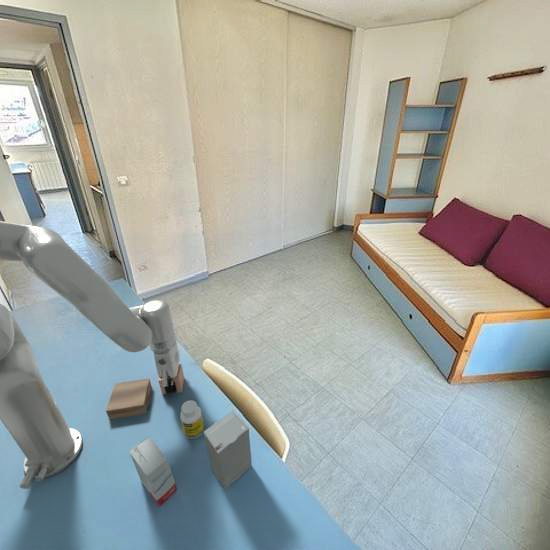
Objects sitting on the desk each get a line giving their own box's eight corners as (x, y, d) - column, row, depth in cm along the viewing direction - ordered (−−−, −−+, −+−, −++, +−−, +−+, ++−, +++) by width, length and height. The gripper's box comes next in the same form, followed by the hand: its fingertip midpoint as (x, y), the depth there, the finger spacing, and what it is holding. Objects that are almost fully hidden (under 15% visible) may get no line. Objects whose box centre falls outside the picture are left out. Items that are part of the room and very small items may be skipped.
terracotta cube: (181, 391, 95) (178, 378, 92) (162, 394, 94) (158, 380, 91) (184, 377, 100) (181, 363, 97) (165, 379, 100) (161, 366, 97)
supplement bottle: (184, 442, 81) (178, 417, 76) (183, 424, 85) (178, 400, 80) (204, 436, 82) (200, 412, 77) (203, 419, 86) (199, 395, 82)
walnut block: (146, 414, 89) (143, 404, 87) (109, 420, 87) (105, 411, 85) (151, 387, 97) (149, 378, 95) (118, 392, 96) (115, 383, 94)
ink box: (178, 490, 70) (169, 459, 65) (158, 508, 67) (147, 478, 62) (159, 465, 75) (149, 435, 70) (140, 480, 72) (128, 450, 67)
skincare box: (237, 447, 79) (232, 406, 72) (254, 468, 74) (251, 427, 67) (209, 470, 74) (200, 428, 67) (225, 494, 69) (218, 452, 62)
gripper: (171, 359, 81) (181, 405, 90) (179, 320, 96) (188, 363, 105) (142, 362, 80) (155, 408, 89) (155, 323, 95) (165, 365, 104)
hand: (173, 383), depth 97 cm, fingers closed on terracotta cube, 6 cm apart
